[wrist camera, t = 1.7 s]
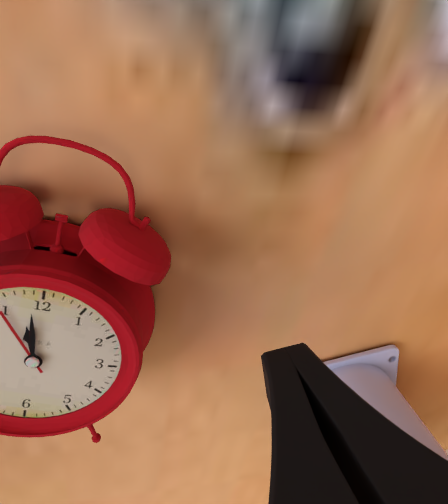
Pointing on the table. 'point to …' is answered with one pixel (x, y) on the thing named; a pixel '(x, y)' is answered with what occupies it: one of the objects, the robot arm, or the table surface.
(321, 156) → the table surface
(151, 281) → the alarm clock
